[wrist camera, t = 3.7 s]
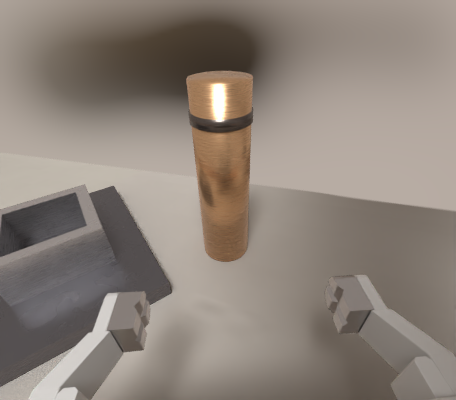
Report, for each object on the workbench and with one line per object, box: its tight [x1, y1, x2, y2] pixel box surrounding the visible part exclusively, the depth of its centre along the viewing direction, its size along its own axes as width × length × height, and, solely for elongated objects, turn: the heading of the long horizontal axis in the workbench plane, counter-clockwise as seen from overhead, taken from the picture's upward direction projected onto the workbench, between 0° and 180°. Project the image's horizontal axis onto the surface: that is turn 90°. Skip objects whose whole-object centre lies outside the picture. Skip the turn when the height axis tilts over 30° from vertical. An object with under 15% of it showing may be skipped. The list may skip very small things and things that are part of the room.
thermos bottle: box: [186, 71, 253, 262], centre depth 22 cm, size 5×5×16 cm
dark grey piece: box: [0, 184, 171, 387], centre depth 23 cm, size 18×14×6 cm
